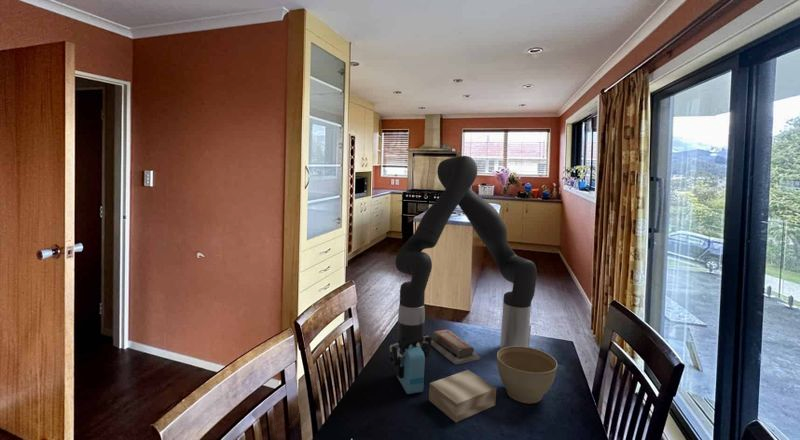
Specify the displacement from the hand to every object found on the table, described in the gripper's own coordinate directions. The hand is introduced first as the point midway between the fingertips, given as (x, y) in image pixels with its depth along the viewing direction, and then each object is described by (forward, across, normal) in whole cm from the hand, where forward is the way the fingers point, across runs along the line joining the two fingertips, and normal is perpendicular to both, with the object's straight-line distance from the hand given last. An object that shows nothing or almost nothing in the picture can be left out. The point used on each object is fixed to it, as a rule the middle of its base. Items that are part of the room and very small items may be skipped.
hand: (409, 374), depth 115 cm
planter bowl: (+3, -25, +21) cm, 33 cm away
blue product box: (+3, 0, 0) cm, 3 cm away
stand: (+3, -7, +15) cm, 17 cm away
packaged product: (+4, -25, -10) cm, 27 cm away
